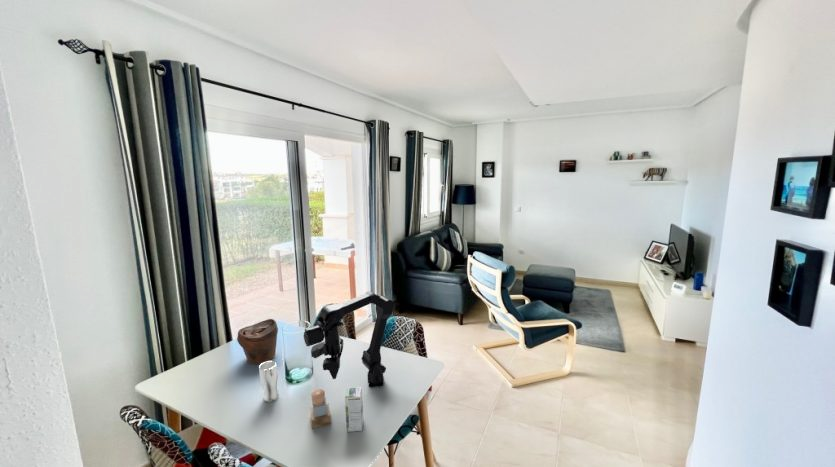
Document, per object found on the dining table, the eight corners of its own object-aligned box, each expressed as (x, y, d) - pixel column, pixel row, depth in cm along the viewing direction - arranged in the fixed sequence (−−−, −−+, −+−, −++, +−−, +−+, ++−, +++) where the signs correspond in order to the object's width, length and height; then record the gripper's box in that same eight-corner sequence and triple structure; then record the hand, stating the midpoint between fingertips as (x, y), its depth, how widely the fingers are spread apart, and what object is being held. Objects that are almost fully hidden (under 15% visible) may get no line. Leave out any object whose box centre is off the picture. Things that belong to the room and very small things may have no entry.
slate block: (326, 405, 137) (325, 396, 136) (327, 414, 133) (327, 405, 132) (313, 408, 136) (312, 399, 135) (314, 417, 131) (313, 408, 130)
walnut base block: (329, 412, 139) (328, 403, 138) (331, 424, 133) (330, 415, 132) (311, 416, 137) (310, 407, 136) (312, 429, 131) (311, 420, 130)
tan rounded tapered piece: (326, 397, 136) (325, 388, 135) (324, 406, 131) (323, 396, 130) (313, 398, 135) (312, 389, 134) (311, 407, 131) (310, 397, 130)
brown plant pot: (231, 366, 171) (226, 332, 167) (257, 345, 190) (254, 314, 186) (263, 371, 167) (259, 336, 163) (287, 349, 186) (284, 318, 182)
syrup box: (348, 420, 134) (346, 387, 131) (363, 419, 134) (361, 386, 131) (346, 432, 128) (344, 397, 125) (362, 431, 129) (360, 396, 126)
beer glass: (283, 393, 150) (280, 362, 147) (272, 404, 144) (268, 371, 141) (270, 390, 153) (266, 359, 149) (258, 400, 146) (254, 368, 143)
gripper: (315, 327, 148) (319, 360, 152) (306, 352, 130) (311, 388, 134) (341, 325, 150) (345, 358, 153) (337, 349, 132) (341, 385, 135)
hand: (335, 371), depth 144 cm, fingers open, 9 cm apart
